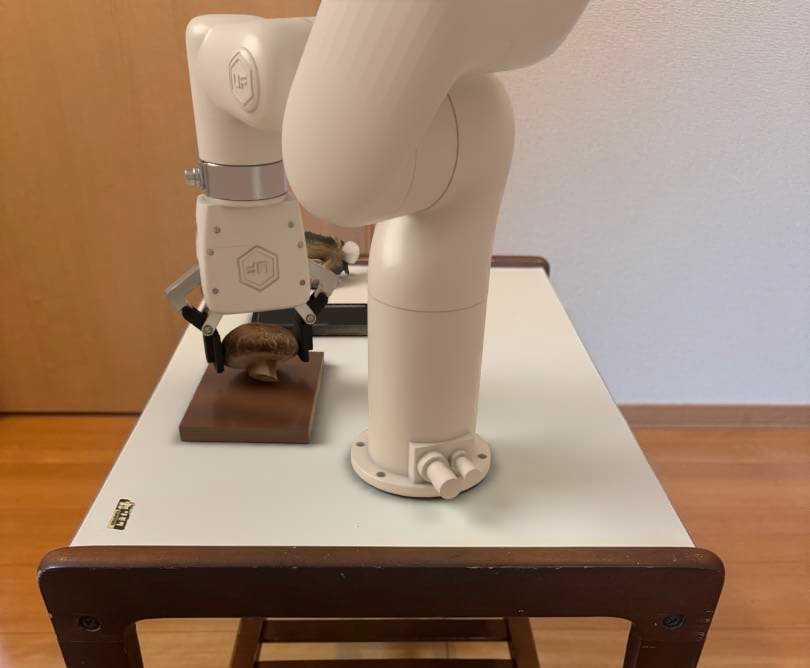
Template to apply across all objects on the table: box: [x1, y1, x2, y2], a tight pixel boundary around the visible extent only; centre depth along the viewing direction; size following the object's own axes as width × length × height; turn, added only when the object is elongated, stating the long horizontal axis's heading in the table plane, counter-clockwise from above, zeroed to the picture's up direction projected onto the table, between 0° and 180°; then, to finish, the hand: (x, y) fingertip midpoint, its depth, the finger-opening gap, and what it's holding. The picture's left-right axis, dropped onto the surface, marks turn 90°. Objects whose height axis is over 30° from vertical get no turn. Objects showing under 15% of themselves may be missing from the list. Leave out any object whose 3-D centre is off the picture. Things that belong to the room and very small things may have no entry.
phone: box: [250, 302, 368, 336], centre depth 97 cm, size 8×1×15 cm
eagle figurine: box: [304, 230, 361, 289], centre depth 110 cm, size 8×7×9 cm
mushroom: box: [221, 321, 300, 382], centre depth 80 cm, size 8×8×6 cm
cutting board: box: [178, 350, 325, 444], centre depth 80 cm, size 18×12×2 cm, turn 0°
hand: (260, 361), depth 81 cm, fingers closed on mushroom, 8 cm apart
